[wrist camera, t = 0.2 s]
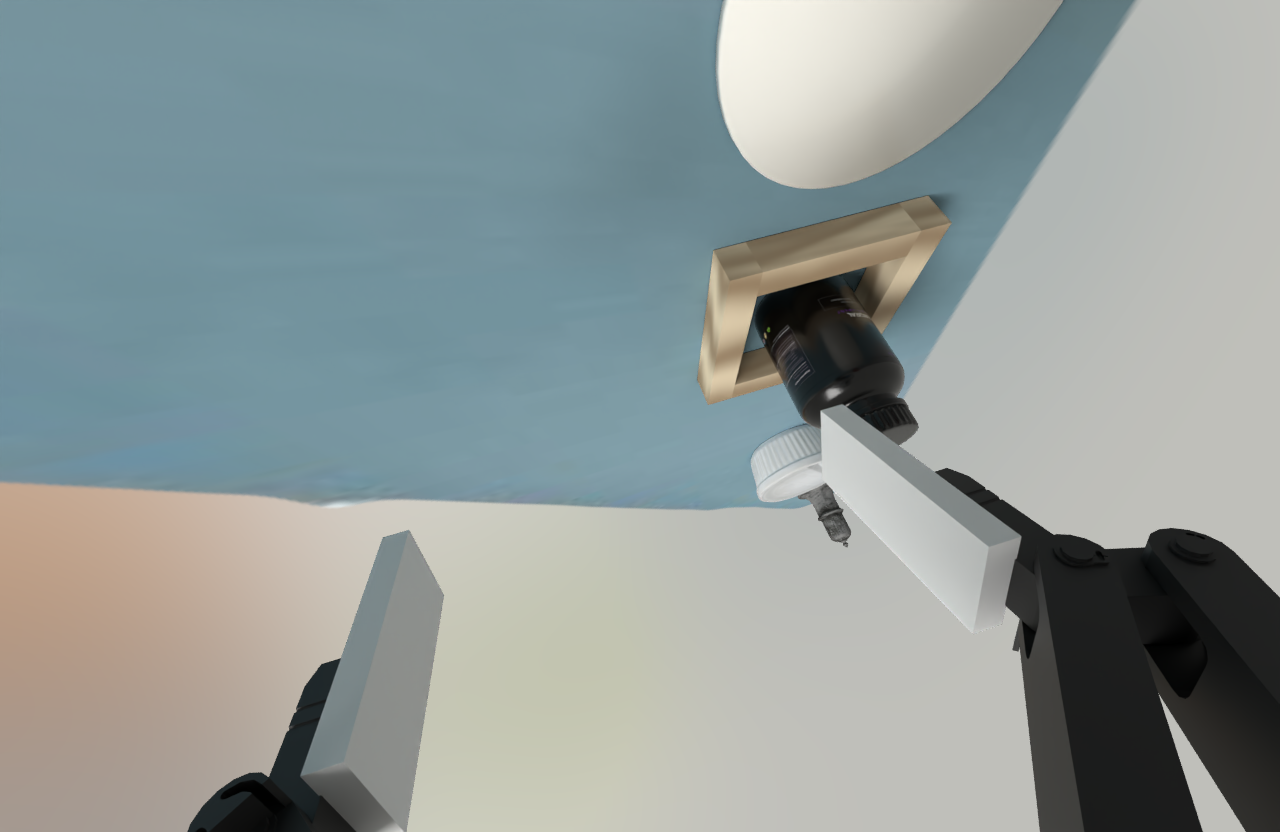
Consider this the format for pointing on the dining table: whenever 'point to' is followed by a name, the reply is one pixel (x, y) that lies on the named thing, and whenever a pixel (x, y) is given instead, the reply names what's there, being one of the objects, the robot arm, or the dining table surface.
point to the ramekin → (788, 464)
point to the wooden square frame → (744, 271)
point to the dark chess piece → (829, 512)
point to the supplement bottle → (834, 356)
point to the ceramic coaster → (859, 78)
